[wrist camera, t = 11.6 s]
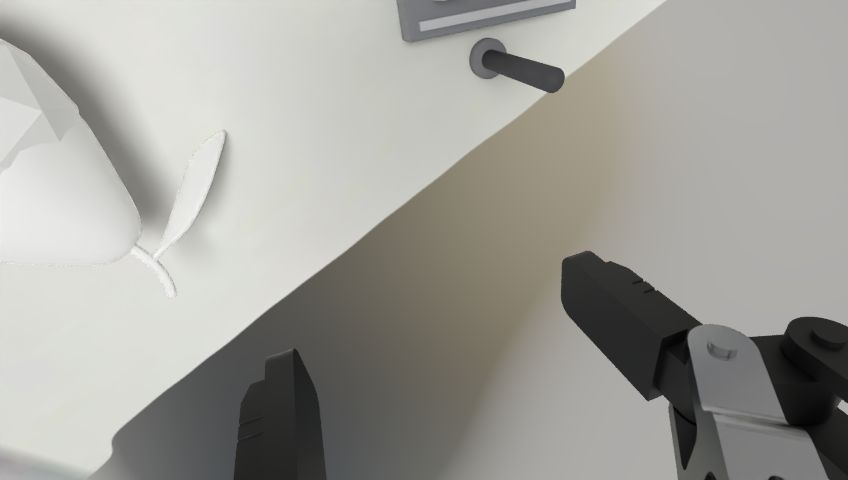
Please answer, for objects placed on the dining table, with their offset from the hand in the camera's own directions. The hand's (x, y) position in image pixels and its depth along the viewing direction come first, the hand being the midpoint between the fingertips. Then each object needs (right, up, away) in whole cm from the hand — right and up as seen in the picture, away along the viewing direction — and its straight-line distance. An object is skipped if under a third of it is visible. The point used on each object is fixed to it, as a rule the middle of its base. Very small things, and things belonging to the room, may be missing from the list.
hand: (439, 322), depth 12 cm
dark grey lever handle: (+6, +23, +33) cm, 41 cm away
